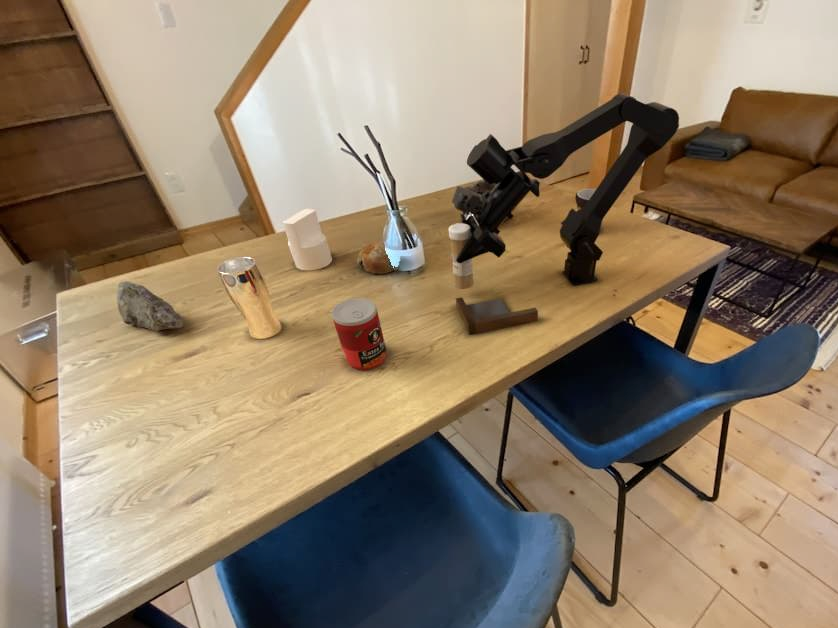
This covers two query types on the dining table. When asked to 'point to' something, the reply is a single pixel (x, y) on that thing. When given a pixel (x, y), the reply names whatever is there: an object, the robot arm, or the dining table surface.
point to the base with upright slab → (307, 241)
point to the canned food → (360, 333)
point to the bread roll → (375, 259)
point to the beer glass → (249, 295)
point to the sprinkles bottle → (458, 241)
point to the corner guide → (492, 315)
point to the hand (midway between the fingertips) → (455, 256)
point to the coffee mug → (583, 197)
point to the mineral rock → (145, 308)
